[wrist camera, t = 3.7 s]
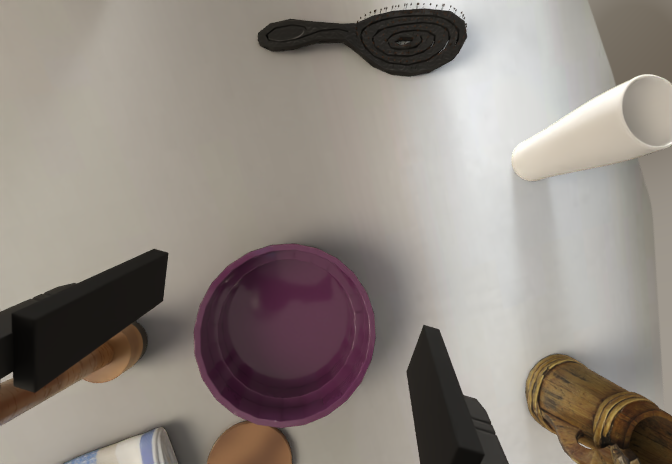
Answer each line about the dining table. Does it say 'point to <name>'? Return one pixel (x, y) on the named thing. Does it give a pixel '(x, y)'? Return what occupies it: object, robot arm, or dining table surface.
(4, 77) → the dining table surface
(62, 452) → the dining table surface
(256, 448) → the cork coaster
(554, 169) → the white tumbler
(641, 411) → the wooden mug
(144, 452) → the dish towel
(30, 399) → the dish brush
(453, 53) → the hairbrush
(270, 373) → the bowl
